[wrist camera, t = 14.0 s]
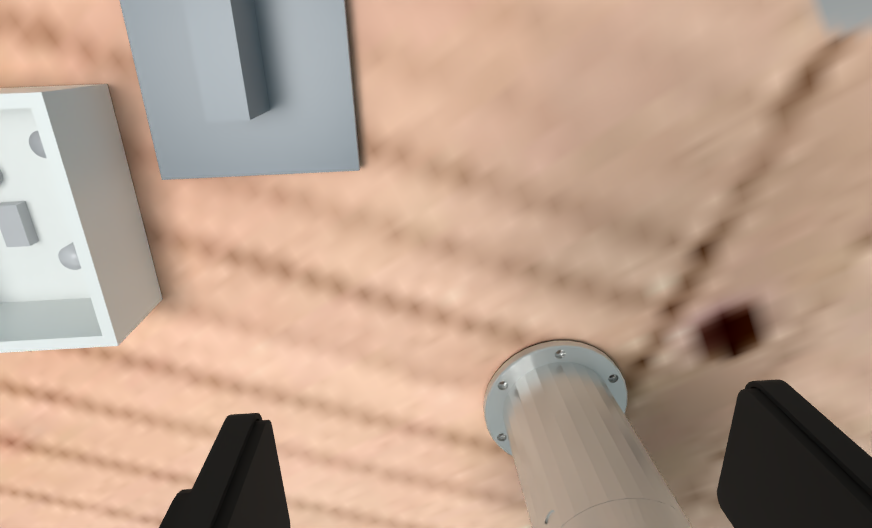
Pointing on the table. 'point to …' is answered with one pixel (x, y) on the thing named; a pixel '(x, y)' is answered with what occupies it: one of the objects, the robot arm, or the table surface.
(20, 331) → the tub
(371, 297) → the table surface
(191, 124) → the lid
